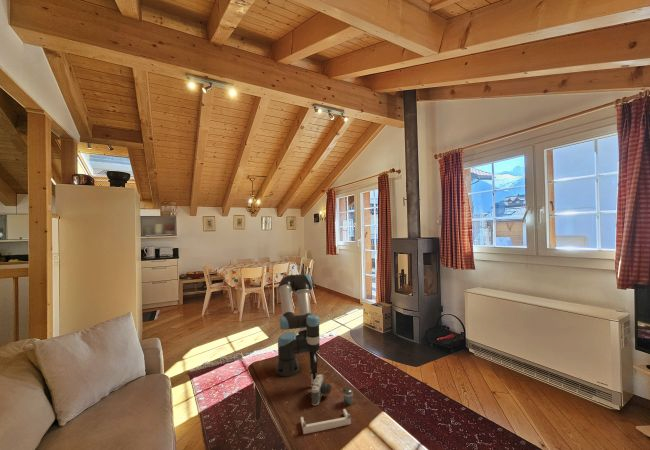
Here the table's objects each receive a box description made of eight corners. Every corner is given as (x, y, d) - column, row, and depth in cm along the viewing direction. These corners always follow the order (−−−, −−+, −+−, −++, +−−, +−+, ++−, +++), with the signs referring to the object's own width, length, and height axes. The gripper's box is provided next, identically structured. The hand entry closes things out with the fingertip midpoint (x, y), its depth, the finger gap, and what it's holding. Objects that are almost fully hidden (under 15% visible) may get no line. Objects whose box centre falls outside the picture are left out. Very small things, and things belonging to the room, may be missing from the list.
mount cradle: (300, 422, 134) (300, 412, 134) (345, 413, 139) (345, 404, 139) (303, 434, 126) (303, 424, 126) (350, 424, 131) (350, 415, 131)
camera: (309, 405, 146) (309, 385, 146) (316, 388, 162) (316, 370, 162) (327, 407, 144) (326, 387, 144) (332, 389, 160) (332, 371, 160)
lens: (341, 401, 149) (341, 388, 149) (351, 399, 150) (351, 386, 150) (344, 407, 144) (344, 393, 144) (354, 405, 145) (354, 392, 145)
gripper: (304, 339, 170) (305, 378, 169) (308, 347, 157) (309, 390, 157) (317, 337, 171) (317, 376, 171) (321, 346, 159) (322, 388, 158)
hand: (314, 383), depth 164 cm, fingers closed
